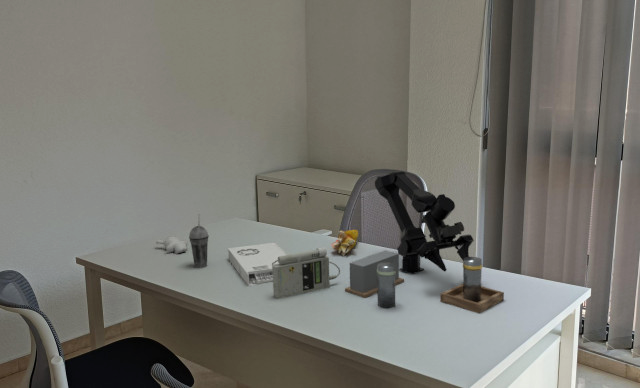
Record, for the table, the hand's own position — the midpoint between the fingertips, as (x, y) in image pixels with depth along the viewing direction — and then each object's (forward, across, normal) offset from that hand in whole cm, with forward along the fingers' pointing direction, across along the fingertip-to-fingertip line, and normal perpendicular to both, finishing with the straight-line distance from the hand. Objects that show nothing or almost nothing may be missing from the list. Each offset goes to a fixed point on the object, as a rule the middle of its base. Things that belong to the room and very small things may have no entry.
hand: (457, 268), depth 210 cm
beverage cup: (-44, -65, +57) cm, 97 cm away
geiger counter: (-13, -40, +26) cm, 50 cm away
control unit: (-7, -20, +19) cm, 29 cm away
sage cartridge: (+4, -25, +8) cm, 26 cm away
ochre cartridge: (+11, 0, 0) cm, 11 cm away
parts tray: (+11, 0, 0) cm, 11 cm away
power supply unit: (-33, -46, +47) cm, 73 cm away
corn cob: (-37, -6, +50) cm, 63 cm away
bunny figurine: (-62, -69, +76) cm, 120 cm away
